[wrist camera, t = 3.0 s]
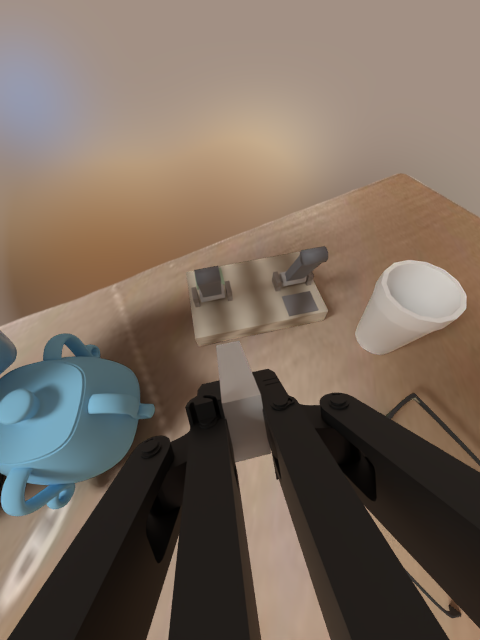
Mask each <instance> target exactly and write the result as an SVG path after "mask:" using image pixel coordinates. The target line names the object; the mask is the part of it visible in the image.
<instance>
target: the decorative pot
mask: <svg viewBox="0 0 480 640" xmlns="http://www.w3.org/2000/svg"><path fill="white" fill-rule="evenodd" d="M64 344H65V345H66V346H67V347H68V348H69V349H70V350H71V351H72V352H73V353H74V355H75V356H76V357H64V358H61V355H62V348H63V345H64ZM43 360H44V361H41V362H37V363H33V364H29V365H25V366H22V367H19V368H17V369H15V370H12V371H10V372H9V373H7V374H6V375H4V376H3V377H2V378H1V379H0V473H1V474H3V475H5V476H7V478H6V480H5V483H4V485H3V489H2V493H1V505H2V508H3V510H4V511H5V512H6V513H7V514H9V515H12V516H23V515H27V514H30V513H32V512H34V511H36V510H38V509H39V508H41V507H42V506H44V505H45V504H47V506H48V507H49V508H51V509H59V508H61V507H64V506H65V505H66V504H67V503H68V502H69V501H70V499H71V497H72V495H73V493H74V490H75V483H77V482H80V481H84V480H87V479H90V478H93V477H95V476H97V475H99V474H102V473H104V472H105V471H107V470H109V469H110V468H112V467H113V466H114V465H116V464H117V463H118V462H119V461H121V459H122V458H123V457H124V456H125V455H126V453H127V452H128V450H129V449H130V447H131V445H132V443H133V440H134V437H135V433H136V429H137V425H138V420H139V419H147V418H151V417H152V416H153V414H154V412H155V407H154V405H153V404H143V403H140V388H139V383H138V379H137V377H136V376H135V374H134V373H133V372H132V370H131V369H129V368H127V367H126V366H124V365H122V364H119V363H117V362H114V361H110V360H106V359H101V358H100V350H99V348H98V347H97V346H95V345H91V344H90V345H86V346H85V345H84V344H83V343H82V341H81V340H80V339H79V338H77V337H76V336H74V335H72V334H59V335H56V336H54V337H53V338H51V339H50V340H49V341H48V343H47V344H46V346H45V349H44V354H43ZM27 483H31V484H40V485H49V486H48V487H46V488H45V489H43V490H42V491H41V492H39V493H38V494H36V495H35V496H34V497H32V498H31V499H29V500H27V501H25V499H24V493H25V487H26V484H27Z"/></svg>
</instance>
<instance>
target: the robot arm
mask: <svg viewBox="0 0 480 640" xmlns="http://www.w3.org/2000/svg"><path fill="white" fill-rule="evenodd" d="M216 349H217V359H218V369H219V381H215V382H211V383H206V384H202V385H201V387H200V388H199V389H198V394H197V396H196V397H195V398H193V399H191V400H190V401H189V402H188V403H187V405H186V407H185V408H186V412H187V416H188V419H189V423H190V431H189V432H188V433H187V434H185V435H184V436H182V437H180V438H178V439H176V440H174V441H172V442H170V440H169V438H167V437H166V436H155V437H151V438H149V439H147V440H145V441H144V442H142V443H141V444H139V445H138V446H137V447H136V449H135V450H134V451H133V452H132V454H131V455H130V457H129V458H128V460H127V461H126V463H125V464H124V466H123V467H122V469H121V470H120V472H119V473H118V475H117V476H116V478H115V479H114V481H113V482H112V484H111V485H110V487H109V488H108V490H107V491H106V493H105V494H104V496H103V497H102V499H101V500H100V502H99V503H98V505H97V506H96V508H95V509H94V511H93V512H92V514H91V515H90V517H89V518H88V519H87V521H86V522H85V524H84V525H83V527H82V528H81V530H80V531H79V533H78V534H77V536H76V537H75V539H74V540H73V542H72V543H71V545H70V546H69V548H68V549H67V551H66V552H65V554H64V555H63V557H62V558H61V560H60V561H59V563H58V564H57V566H56V567H55V569H54V570H53V572H52V573H51V575H50V576H49V578H48V579H47V581H46V582H45V584H44V585H43V587H42V588H41V590H40V591H39V593H38V594H37V596H36V597H35V599H34V600H33V602H32V603H31V605H30V606H29V608H28V609H27V611H26V612H25V614H24V615H23V617H22V618H21V620H20V621H19V623H18V624H17V626H16V627H15V629H14V630H13V632H12V633H11V635H10V636H9V638H8V639H7V640H146V638H147V635H148V632H149V629H150V626H151V622H152V619H153V616H154V613H155V610H156V606H157V603H158V600H159V597H160V593H161V590H162V587H163V584H164V581H165V577H166V574H167V571H168V568H169V565H170V561H171V558H172V555H173V552H174V548H175V545H176V542H177V539H178V536H179V542H178V551H177V561H176V571H175V580H174V590H173V600H172V609H171V619H170V629H169V638H168V640H261V635H260V628H259V621H258V614H257V607H256V600H255V593H254V586H253V579H252V572H251V565H250V558H249V551H248V544H247V537H246V530H245V523H244V516H243V509H242V502H241V495H240V488H239V481H238V474H237V469H236V465H235V462H239V461H243V460H247V459H251V458H255V457H258V456H262V455H266V454H270V453H271V451H272V456H273V461H274V467H275V473H276V478H277V479H279V481H280V484H281V487H282V490H283V493H284V497H285V500H286V503H287V506H288V509H289V512H290V515H291V518H292V521H293V524H294V527H295V531H296V534H297V537H298V540H299V543H300V546H301V549H302V552H303V555H304V558H305V562H306V565H307V568H308V571H309V574H310V577H311V580H312V583H313V586H314V589H315V592H316V596H317V599H318V602H319V605H320V608H321V611H322V614H323V617H324V620H325V623H326V627H327V630H328V633H329V636H330V639H331V640H449V638H448V637H447V635H446V633H445V632H444V630H443V629H442V627H441V626H440V624H439V622H438V621H437V619H436V618H435V616H434V615H433V613H432V611H431V610H430V608H429V607H428V605H427V604H426V602H425V601H424V599H423V597H422V596H421V594H420V593H419V591H418V590H417V588H416V586H415V585H414V583H413V582H412V580H411V579H410V577H409V575H408V574H407V572H406V571H405V569H404V568H403V566H402V564H401V563H400V561H399V560H398V558H397V557H396V555H395V553H394V552H393V550H392V549H391V547H390V546H389V544H388V542H387V541H386V539H385V538H384V536H383V535H382V533H381V531H380V530H379V528H378V527H377V525H376V524H375V522H374V521H373V519H372V517H371V516H370V514H369V513H368V511H367V510H366V508H367V509H368V510H369V511H370V512H371V513H372V514H373V515H374V516H375V517H376V518H377V519H378V521H379V522H380V523H381V524H382V525H383V526H384V527H385V528H386V529H387V530H388V531H389V532H390V533H391V534H392V535H393V537H394V538H395V539H396V540H397V541H398V542H399V543H400V544H401V545H402V546H403V547H404V548H405V549H406V550H407V551H408V553H409V554H410V555H411V556H412V557H413V558H414V559H415V560H416V561H417V562H418V563H419V564H420V565H421V566H422V567H423V568H424V570H425V571H426V572H427V573H428V574H429V575H430V576H431V577H432V578H433V579H434V580H435V581H436V582H437V583H438V584H439V586H440V587H441V588H442V589H443V590H444V591H445V592H446V593H447V594H448V595H449V596H450V597H451V598H452V599H453V600H454V602H455V603H456V604H457V605H458V606H459V607H460V608H461V609H462V610H463V611H464V612H465V613H466V614H467V615H468V616H469V618H470V619H471V620H472V621H473V622H474V623H475V624H476V625H477V626H478V627H479V628H480V472H478V471H476V470H475V469H473V468H471V467H470V466H468V465H466V464H464V463H463V462H461V461H459V460H458V459H456V458H454V457H453V456H451V455H449V454H448V453H446V452H444V451H443V450H441V449H439V448H438V447H436V446H434V445H433V444H431V443H429V442H428V441H426V440H424V439H423V438H421V437H419V436H418V435H416V434H414V433H413V432H411V431H409V430H408V429H406V428H404V427H403V426H401V425H399V424H398V423H396V422H394V421H393V420H391V419H389V418H388V417H386V416H384V415H382V414H381V413H379V412H377V411H376V410H374V409H372V408H371V407H369V406H367V405H366V404H364V403H362V402H361V401H359V400H357V399H356V398H354V397H352V396H350V395H348V394H344V393H330V394H326V395H325V396H323V397H322V398H321V400H320V405H301V404H299V403H298V401H297V400H296V399H295V398H294V397H291V396H289V395H288V394H287V392H286V391H285V389H284V387H283V386H282V384H281V382H280V381H279V379H278V378H277V376H276V374H275V372H273V371H271V370H269V369H265V370H260V371H256V372H252V371H251V369H250V366H249V364H248V361H247V359H246V356H245V354H244V351H243V349H242V346H241V344H240V341H235V342H230V343H225V344H221V345H216ZM16 356H17V350H16V347H15V346H14V344H13V343H12V342H11V341H10V339H9V338H8V337H7V336H6V335H5V334H3V333H2V332H1V331H0V374H1V373H3V372H4V371H5V370H6V369H7V368H8V367H9V366H10V365H11V364H12V363H13V362H14V361H15V359H16ZM270 448H271V450H270ZM2 479H3V474H1V473H0V486H1V483H2ZM365 507H366V508H365Z"/></svg>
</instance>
